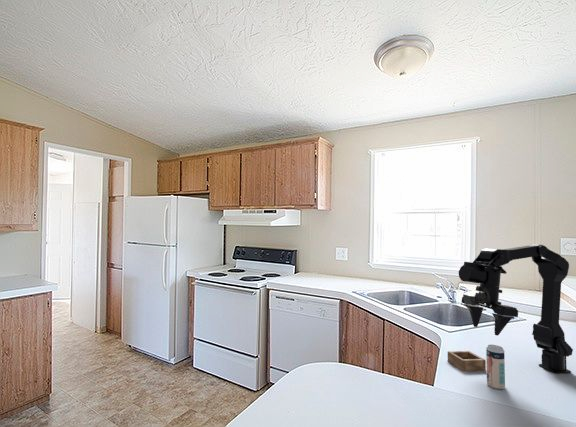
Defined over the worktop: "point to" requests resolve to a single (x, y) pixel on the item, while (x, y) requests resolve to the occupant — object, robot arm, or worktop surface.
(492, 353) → the beer can
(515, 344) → the worktop surface
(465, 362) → the socket block
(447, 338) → the worktop surface
